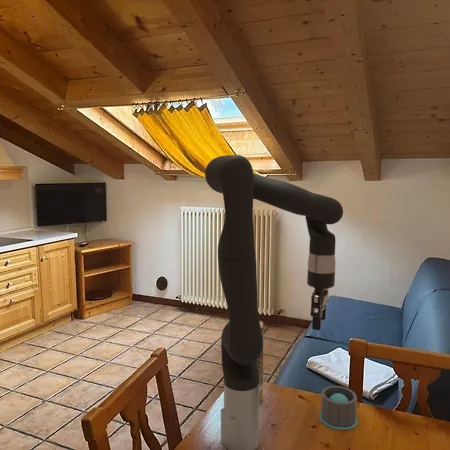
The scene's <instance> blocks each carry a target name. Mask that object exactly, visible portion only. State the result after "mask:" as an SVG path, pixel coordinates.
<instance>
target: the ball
mask: <svg viewBox="0 0 450 450" xmlns="http://www.w3.org/2000/svg"><path fill="white" fill-rule="evenodd" d="M329 399H330V400H332V401H336V402H349V400H348V399H347V397H346V396H344V395H343V394H340V393H336V394H333V395H332V396H331V397H330V398H329Z"/></svg>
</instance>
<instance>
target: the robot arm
mask: <svg viewBox="0 0 450 450" xmlns="http://www.w3.org/2000/svg"><path fill="white" fill-rule="evenodd" d="M204 177H205V181H206V184H208V187H210V188H211V190H213V191H215V192H216V193H218V194H222V195H223V196H222V198H223V206H224V222H223V226H222V230H221V233H220V236H219V241H218V245H217V261H218V262H217V264H218V272H219V278H220V279H219V280H220V282H221V283H220V285H221V287H222V288H221V289H222V292H223V295H224V298H225V302H226V305H227V311H228V319H229V320H228V322H227V323H226V324H225V325H224V327H223V328H222V329H223V330H222V332H221V338H220V339H221V340H220V341H221V342H220V347H221V349H220V350H221V367H222V373H223V408H221V409H220V442H221V444H222V445H223V446H224V448H226V450H257V449H258V447H259V445H260V403H259V370H258V367H257V363H256V361H257V360H258V358H259V357H260V355H261V353H262V350H263V351H264V337H263V338H262V332H261V327H260V321H261V320H260V316H259V307H258V283H257V282H258V281H257V279H258V277H257V258H256V245H255V229H254V200H257V201H260V202H262V203H264V204H267V205H269V206H272V207H274V208H278V209H281V210H282V211H286V212H289V213H292V214H294V215H297V216H303V217H305V222H306V225H307V226H306V227H307V228H306V229H307V232H308V237H309V245H308V246H309V247H308V249H309V250H308V259H307V275H306V276H307V277H306V280H307V281H306V284H307V285H308V286H309V287H311V288H314V290H313V291H312V293H311V296H310V298H311V300H310V301H311V303H310V317H312V321H311V322H312V324H311V328H312V330H314V331H320V330H321V327H322V321H325V320H326V317H327V316H326V315H327V314H326V311H327V307H328V302H329V289H332V288H334V287H335V283H336V282H335V281H336V236H335V234H334V233H333V232H331V231H330V230H329V229H328V226H327V225H334V224H336V223H338V222H340V220H342V217H343V215H344V209H343V206H342V204H341V203H340V201H338V200H337V199H336V198H333V197H331V196H327V195H323V194H320V193H319V194H318V193H315V192H312V191H309V190H307V189H305V188H303V187H300V186H298V185H295V184H292V183H290V182H286V181H283V180H278V179H275V178H270V177H267V176H266V177H265V176H262V175H259V174H257V173H254V170H253V166H252V163H251V162H250V161H249V159H248V158H247V157H245V156H244V155H241V154H229V155H226V154H225V155H219V156H216V157H214V158H213V159H211V160H210V161H209V162H208V163H207V165H206V168H205V171H204ZM316 310H317V312H316Z"/></svg>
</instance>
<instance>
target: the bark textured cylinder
mask: <svg viewBox="0 0 450 450" xmlns="http://www.w3.org/2000/svg"><path fill="white" fill-rule="evenodd" d="M259 321H260V327H261V332H262V338H263V339H264V321H262V320H259ZM256 363H257V367H258V370H259V404H260V403H261V402H262V401H263V399H264V397H263V394H264V393H263V392H264V349H263V350H262V353H261V355H260V357H259V358H258V360H257V361H256Z"/></svg>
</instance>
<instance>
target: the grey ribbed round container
mask: <svg viewBox="0 0 450 450" xmlns="http://www.w3.org/2000/svg"><path fill="white" fill-rule="evenodd" d="M336 393H340V394H343V395H344V396H346V397H347V399H348V400H349V402H336V401H332V400H330V399H329V398H330V397H331V396H332V395H333V394H336ZM320 397H321V399H320V411H319V413H318V419H319V421H320V422H321V424H323V425H324V426H326V427H328V428H329V429H332V430H338V431H351V430H353V429H354V428H356V427H357V426H358V424H359V418H358V416H357V411H358V410H357V408H358V407H357V405H358V396H357V394H356V393H355V391H353V390H352V389H350V388H347V387H344V386H340V385H331V386H327V387H325V388H323V389H322V391H321V396H320Z"/></svg>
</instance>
